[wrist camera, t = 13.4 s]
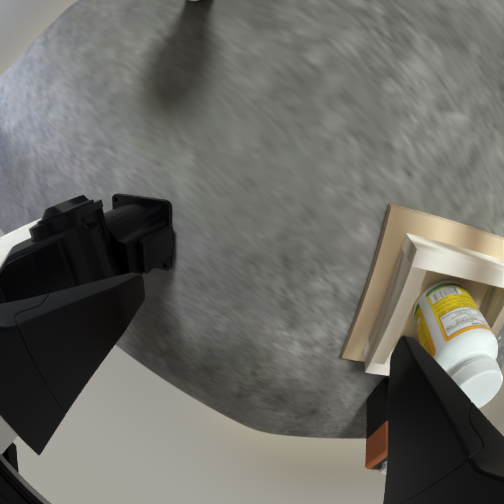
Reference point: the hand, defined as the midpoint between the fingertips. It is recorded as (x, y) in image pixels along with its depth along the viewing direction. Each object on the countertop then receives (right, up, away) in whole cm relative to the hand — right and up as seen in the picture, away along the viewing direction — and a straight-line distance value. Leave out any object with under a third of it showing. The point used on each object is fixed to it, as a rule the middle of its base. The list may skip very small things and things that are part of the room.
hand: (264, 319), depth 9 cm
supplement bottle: (+15, -2, +10) cm, 18 cm away
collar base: (+15, -2, +11) cm, 19 cm away
